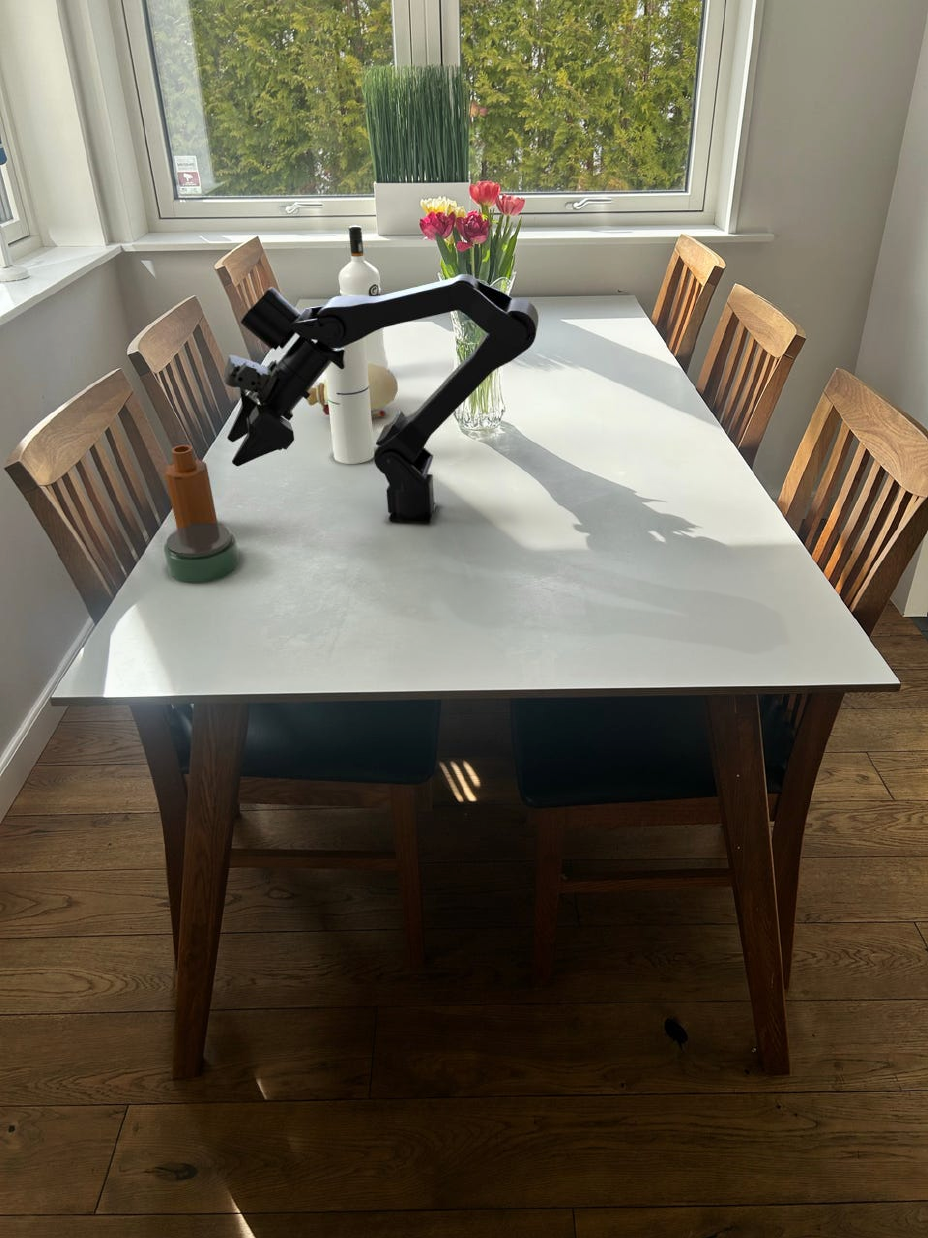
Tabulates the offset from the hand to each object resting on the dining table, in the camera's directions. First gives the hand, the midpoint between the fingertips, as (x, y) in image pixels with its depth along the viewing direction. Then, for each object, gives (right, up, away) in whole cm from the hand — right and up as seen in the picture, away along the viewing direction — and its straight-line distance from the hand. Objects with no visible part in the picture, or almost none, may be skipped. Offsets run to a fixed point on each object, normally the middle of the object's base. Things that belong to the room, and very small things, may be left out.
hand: (232, 452), depth 141 cm
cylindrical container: (+15, +4, +27) cm, 31 cm away
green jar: (-3, -17, -4) cm, 18 cm away
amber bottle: (-6, -11, +5) cm, 14 cm away
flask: (+13, +15, +44) cm, 48 cm away
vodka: (+14, +28, +63) cm, 70 cm away
